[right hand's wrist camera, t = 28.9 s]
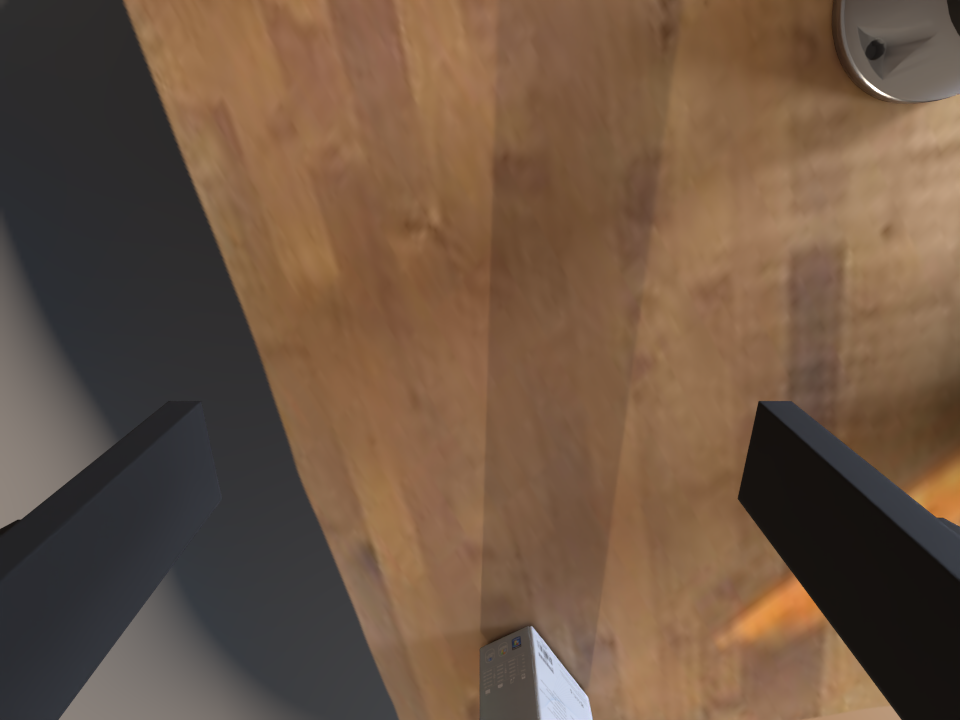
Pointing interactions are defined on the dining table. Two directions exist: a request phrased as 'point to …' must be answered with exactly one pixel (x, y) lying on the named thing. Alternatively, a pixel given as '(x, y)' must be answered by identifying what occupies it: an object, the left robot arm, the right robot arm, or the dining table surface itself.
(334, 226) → the dining table surface
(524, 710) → the hard drive box
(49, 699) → the right robot arm
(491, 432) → the dining table surface
